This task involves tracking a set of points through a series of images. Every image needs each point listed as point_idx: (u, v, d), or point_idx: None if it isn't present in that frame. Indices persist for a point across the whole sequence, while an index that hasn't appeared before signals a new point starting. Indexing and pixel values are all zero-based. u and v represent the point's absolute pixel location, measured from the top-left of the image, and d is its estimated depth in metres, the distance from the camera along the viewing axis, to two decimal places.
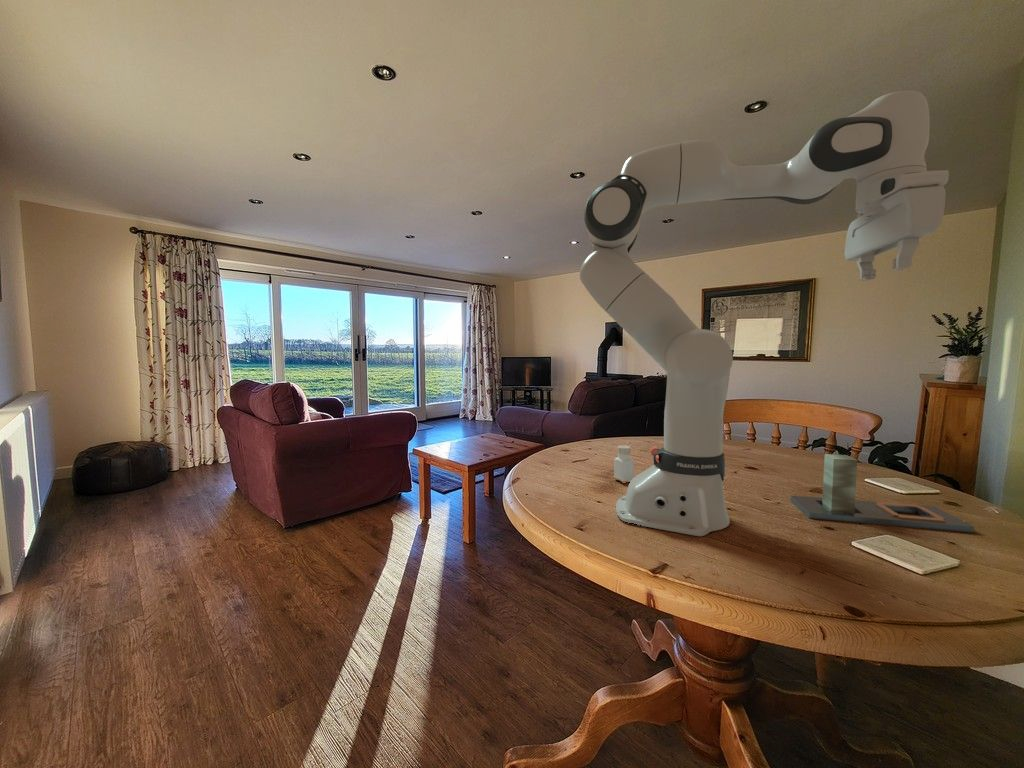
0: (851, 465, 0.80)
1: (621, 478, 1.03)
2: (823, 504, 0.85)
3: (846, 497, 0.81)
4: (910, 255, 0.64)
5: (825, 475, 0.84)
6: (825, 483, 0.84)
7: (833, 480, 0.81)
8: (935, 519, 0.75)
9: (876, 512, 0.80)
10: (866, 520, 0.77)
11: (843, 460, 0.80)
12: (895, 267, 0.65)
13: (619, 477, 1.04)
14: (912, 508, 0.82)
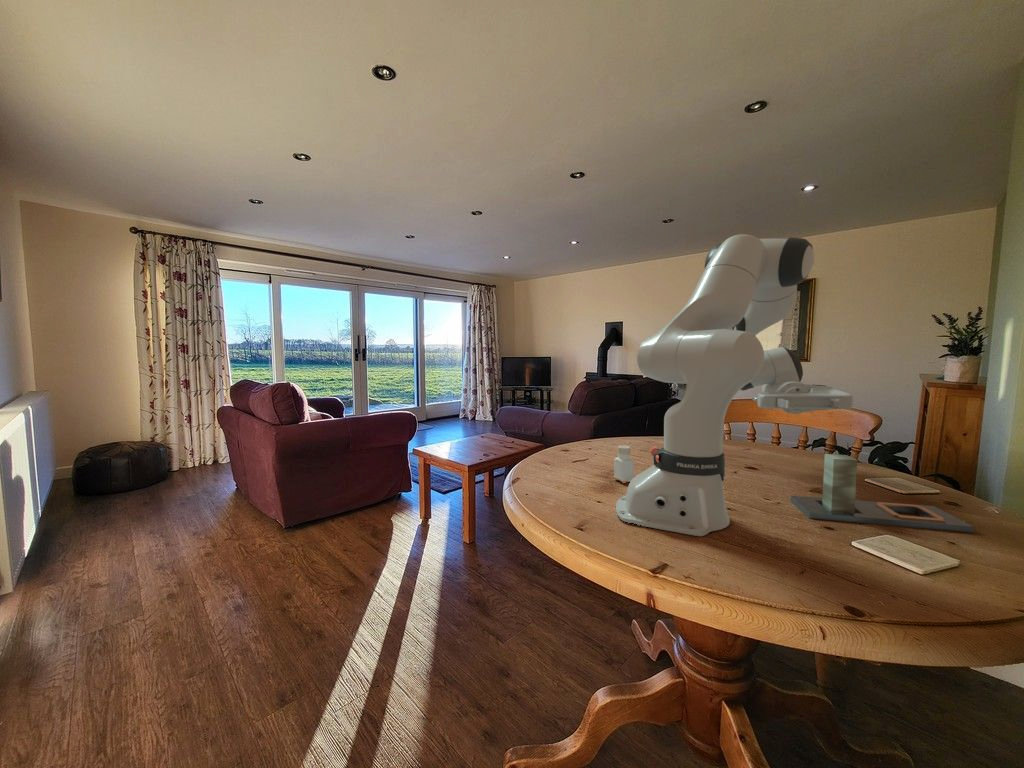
0: (851, 465, 0.80)
1: (621, 478, 1.03)
2: (823, 504, 0.85)
3: (846, 497, 0.81)
4: None
5: (825, 475, 0.84)
6: (825, 483, 0.84)
7: (833, 480, 0.81)
8: (935, 519, 0.75)
9: (876, 512, 0.80)
10: (866, 520, 0.77)
11: (843, 460, 0.80)
12: (835, 402, 0.94)
13: (619, 477, 1.04)
14: (912, 508, 0.82)
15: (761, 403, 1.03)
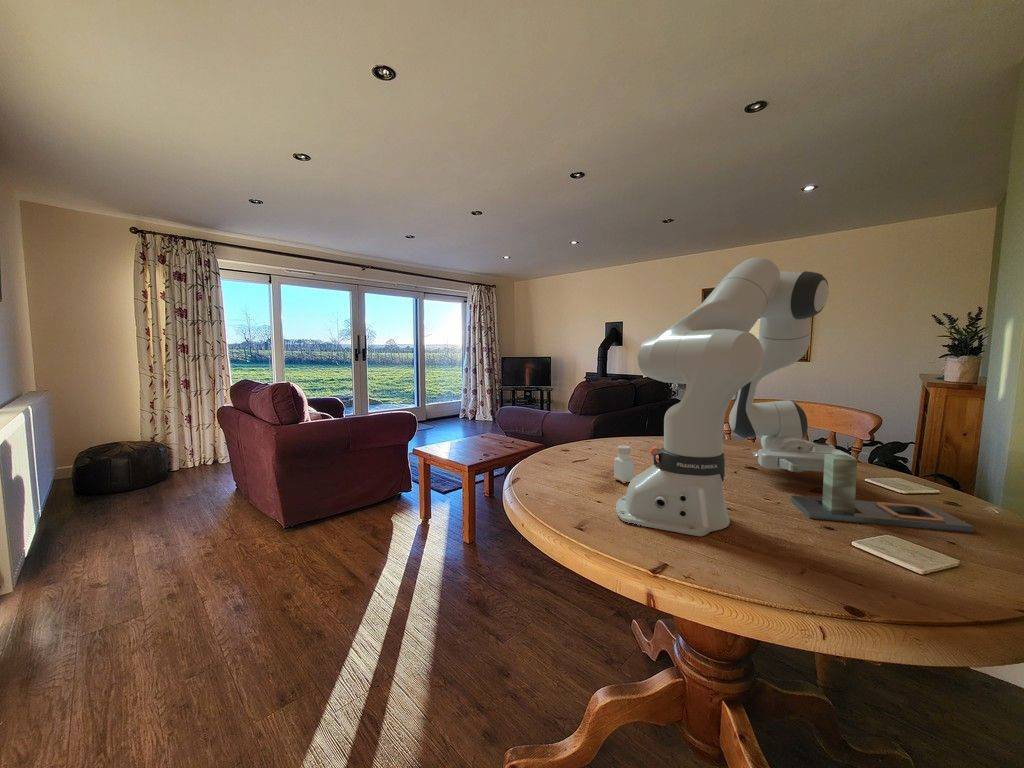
0: (851, 465, 0.80)
1: (621, 478, 1.03)
2: (823, 504, 0.85)
3: (846, 497, 0.81)
4: None
5: (825, 475, 0.84)
6: (825, 483, 0.84)
7: (833, 480, 0.81)
8: (935, 519, 0.75)
9: (876, 512, 0.80)
10: (866, 520, 0.77)
11: (843, 460, 0.80)
12: None
13: (619, 477, 1.04)
14: (912, 508, 0.82)
15: (762, 462, 0.99)
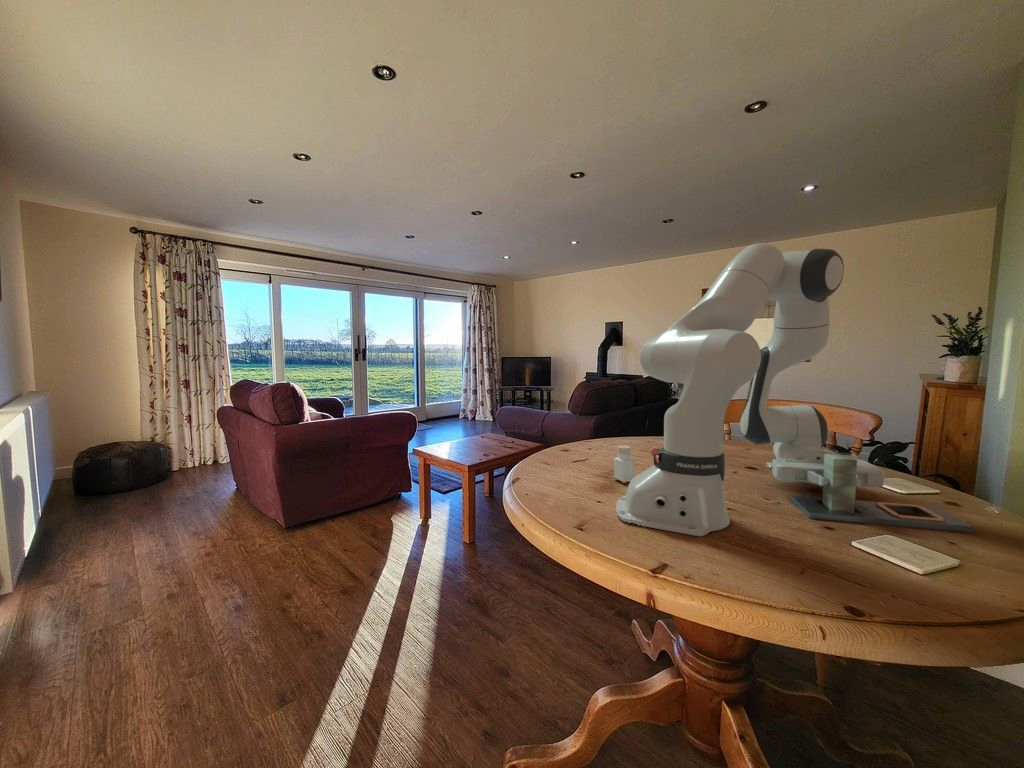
0: (851, 465, 0.80)
1: (621, 478, 1.03)
2: (823, 504, 0.85)
3: (846, 497, 0.81)
4: None
5: (825, 475, 0.84)
6: None
7: (833, 480, 0.81)
8: (935, 519, 0.75)
9: (876, 512, 0.80)
10: (866, 520, 0.77)
11: (843, 460, 0.80)
12: None
13: (619, 477, 1.04)
14: (912, 508, 0.82)
15: (778, 474, 0.90)
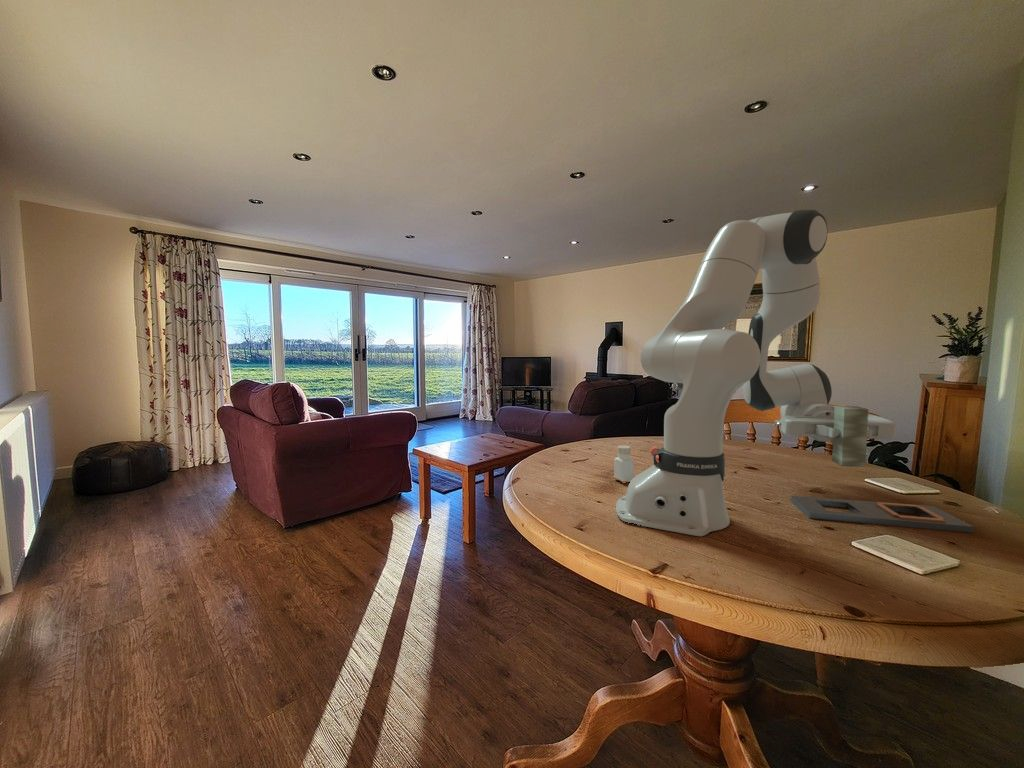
0: (862, 414, 0.79)
1: (621, 478, 1.03)
2: (833, 457, 0.84)
3: (857, 448, 0.80)
4: None
5: (835, 427, 0.83)
6: None
7: (844, 430, 0.80)
8: (935, 519, 0.75)
9: (876, 512, 0.80)
10: (866, 520, 0.77)
11: (854, 410, 0.79)
12: None
13: (619, 477, 1.04)
14: (912, 508, 0.82)
15: (787, 429, 0.88)
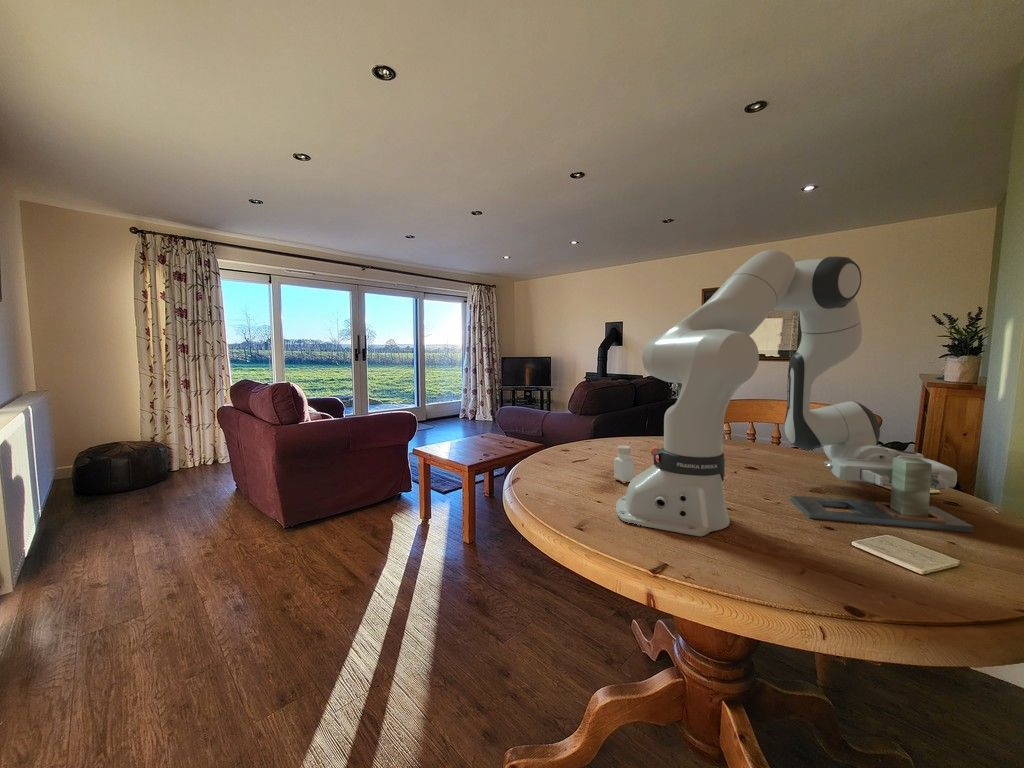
0: (925, 469, 0.76)
1: (621, 478, 1.03)
2: (891, 509, 0.81)
3: (919, 503, 0.77)
4: None
5: (894, 479, 0.81)
6: (894, 487, 0.81)
7: (905, 484, 0.78)
8: (935, 519, 0.75)
9: (876, 512, 0.80)
10: (866, 520, 0.77)
11: (916, 464, 0.77)
12: (941, 480, 0.77)
13: (619, 477, 1.04)
14: None
15: (841, 474, 0.86)
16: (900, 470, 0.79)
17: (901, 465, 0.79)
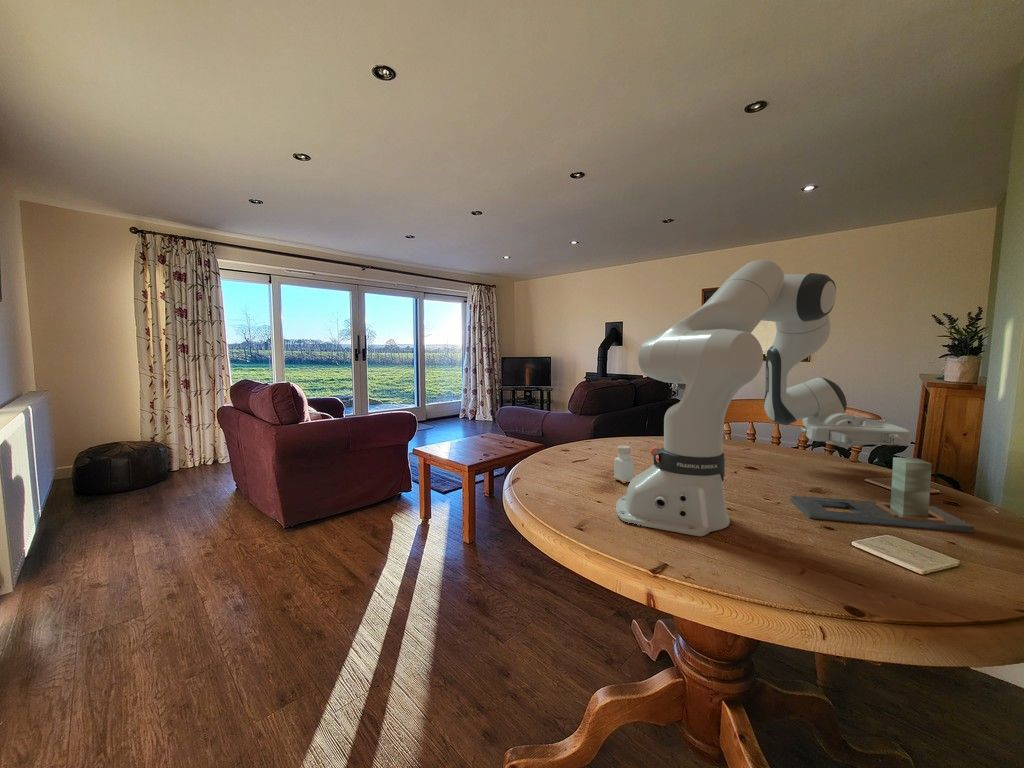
0: (925, 469, 0.76)
1: (621, 478, 1.03)
2: (891, 509, 0.81)
3: (919, 503, 0.77)
4: None
5: (894, 479, 0.81)
6: (894, 487, 0.81)
7: (905, 484, 0.78)
8: (935, 519, 0.75)
9: (876, 512, 0.80)
10: (866, 520, 0.77)
11: (916, 464, 0.77)
12: (896, 438, 0.90)
13: (619, 477, 1.04)
14: None
15: (813, 435, 0.99)
16: (900, 470, 0.79)
17: (901, 465, 0.79)
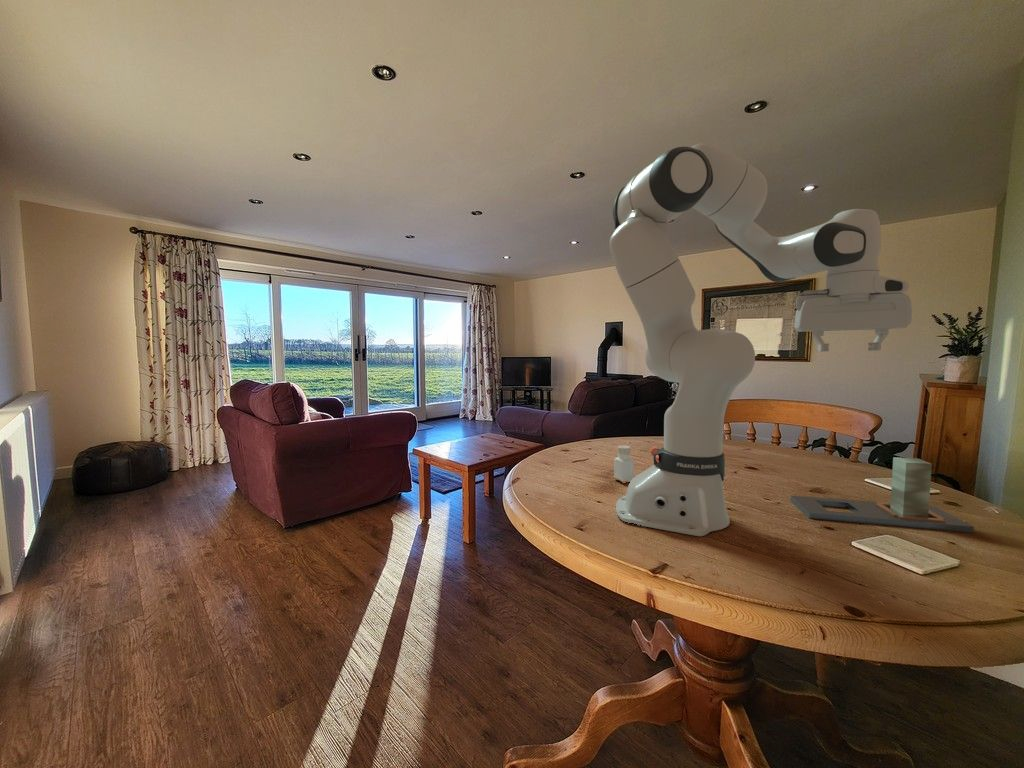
0: (925, 469, 0.76)
1: (621, 478, 1.03)
2: (891, 509, 0.81)
3: (919, 503, 0.77)
4: None
5: (894, 479, 0.81)
6: (894, 487, 0.81)
7: (905, 484, 0.78)
8: (935, 519, 0.75)
9: (876, 512, 0.80)
10: (866, 520, 0.77)
11: (916, 464, 0.77)
12: (875, 348, 0.85)
13: (619, 477, 1.04)
14: None
15: (796, 329, 0.90)
16: (900, 470, 0.79)
17: (901, 465, 0.79)
